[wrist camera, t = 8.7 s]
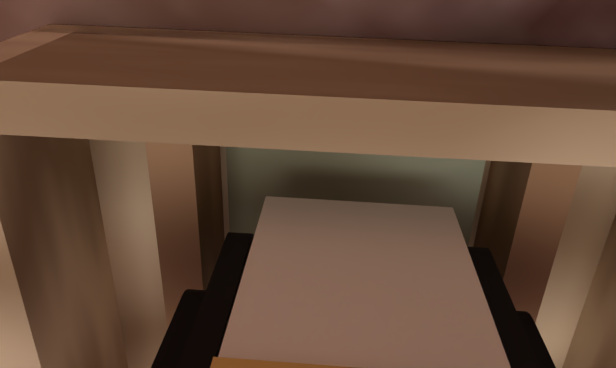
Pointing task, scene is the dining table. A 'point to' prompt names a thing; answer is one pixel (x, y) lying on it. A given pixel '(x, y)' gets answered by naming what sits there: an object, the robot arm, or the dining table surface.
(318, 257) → the small white lidded box
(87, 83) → the walled box
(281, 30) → the dining table surface
